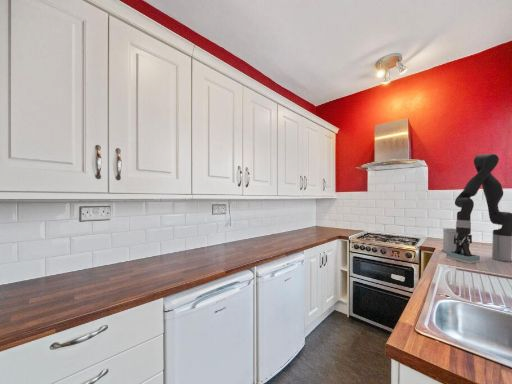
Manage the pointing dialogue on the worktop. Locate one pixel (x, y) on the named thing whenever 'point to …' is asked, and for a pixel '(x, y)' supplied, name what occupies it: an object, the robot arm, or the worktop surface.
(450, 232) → the utensil holder
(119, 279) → the worktop surface
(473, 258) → the socket base
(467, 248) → the black v-shaped piece
